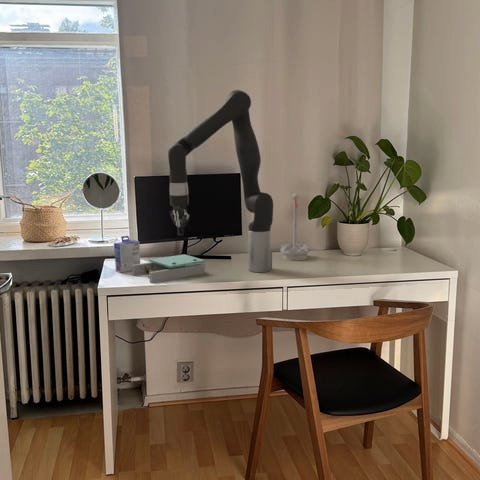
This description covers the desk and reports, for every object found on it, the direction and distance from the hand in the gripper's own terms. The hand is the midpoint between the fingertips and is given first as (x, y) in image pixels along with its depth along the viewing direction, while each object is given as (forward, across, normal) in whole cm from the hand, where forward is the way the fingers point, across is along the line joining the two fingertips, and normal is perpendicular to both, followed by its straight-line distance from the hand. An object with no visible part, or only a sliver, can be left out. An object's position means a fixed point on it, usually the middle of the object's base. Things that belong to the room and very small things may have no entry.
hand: (180, 235), depth 255 cm
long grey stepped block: (+16, +4, +5) cm, 17 cm away
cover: (+12, +3, +1) cm, 12 cm away
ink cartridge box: (+16, +20, +15) cm, 30 cm away
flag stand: (+18, -5, -57) cm, 60 cm away
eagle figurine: (+16, +1, +13) cm, 21 cm away
